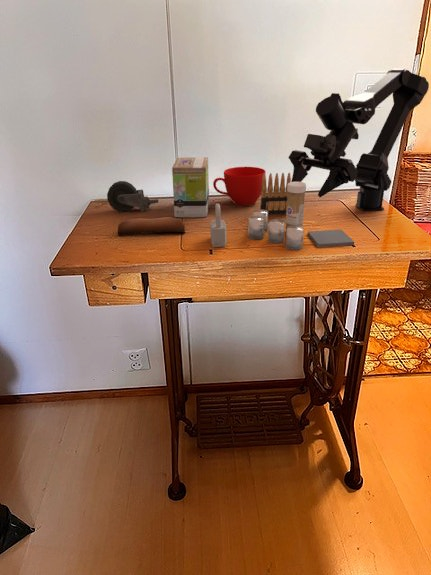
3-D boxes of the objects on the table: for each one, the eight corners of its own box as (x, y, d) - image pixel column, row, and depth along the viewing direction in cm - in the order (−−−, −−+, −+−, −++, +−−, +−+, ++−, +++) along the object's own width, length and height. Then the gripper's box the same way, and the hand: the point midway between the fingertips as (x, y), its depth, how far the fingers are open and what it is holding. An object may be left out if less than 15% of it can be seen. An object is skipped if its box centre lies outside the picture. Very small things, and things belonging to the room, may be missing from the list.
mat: (341, 232, 117) (341, 229, 117) (353, 244, 109) (354, 241, 109) (307, 234, 116) (307, 231, 116) (318, 247, 108) (318, 244, 108)
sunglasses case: (186, 223, 126) (184, 207, 121) (186, 243, 123) (184, 227, 117) (122, 225, 126) (117, 209, 121) (120, 245, 123) (115, 230, 117)
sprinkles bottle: (281, 235, 116) (283, 183, 110) (291, 230, 119) (293, 180, 113) (296, 238, 114) (300, 186, 108) (306, 233, 117) (309, 182, 111)
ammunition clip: (295, 211, 133) (298, 171, 128) (296, 213, 132) (299, 172, 126) (259, 212, 133) (260, 172, 128) (260, 214, 132) (261, 174, 126)
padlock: (210, 237, 116) (209, 200, 112) (225, 237, 116) (225, 199, 112) (211, 247, 110) (209, 208, 106) (227, 247, 110) (226, 208, 106)
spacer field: (286, 225, 123) (287, 207, 120) (304, 250, 107) (305, 230, 105) (244, 228, 122) (244, 210, 120) (255, 253, 106) (256, 233, 104)
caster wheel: (110, 217, 137) (158, 210, 136) (102, 186, 132) (152, 179, 132) (113, 211, 142) (160, 205, 141) (106, 181, 137) (154, 174, 137)
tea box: (208, 217, 131) (206, 166, 124) (173, 218, 131) (170, 167, 124) (209, 202, 144) (208, 155, 137) (178, 203, 144) (175, 156, 138)
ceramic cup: (207, 201, 145) (205, 170, 141) (254, 195, 150) (254, 165, 146) (221, 212, 134) (221, 179, 130) (272, 205, 140) (273, 173, 135)
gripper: (295, 117, 115) (263, 167, 114) (356, 124, 102) (321, 180, 101) (312, 145, 123) (283, 192, 122) (371, 154, 110) (339, 207, 109)
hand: (304, 192), depth 114 cm, fingers open, 9 cm apart
